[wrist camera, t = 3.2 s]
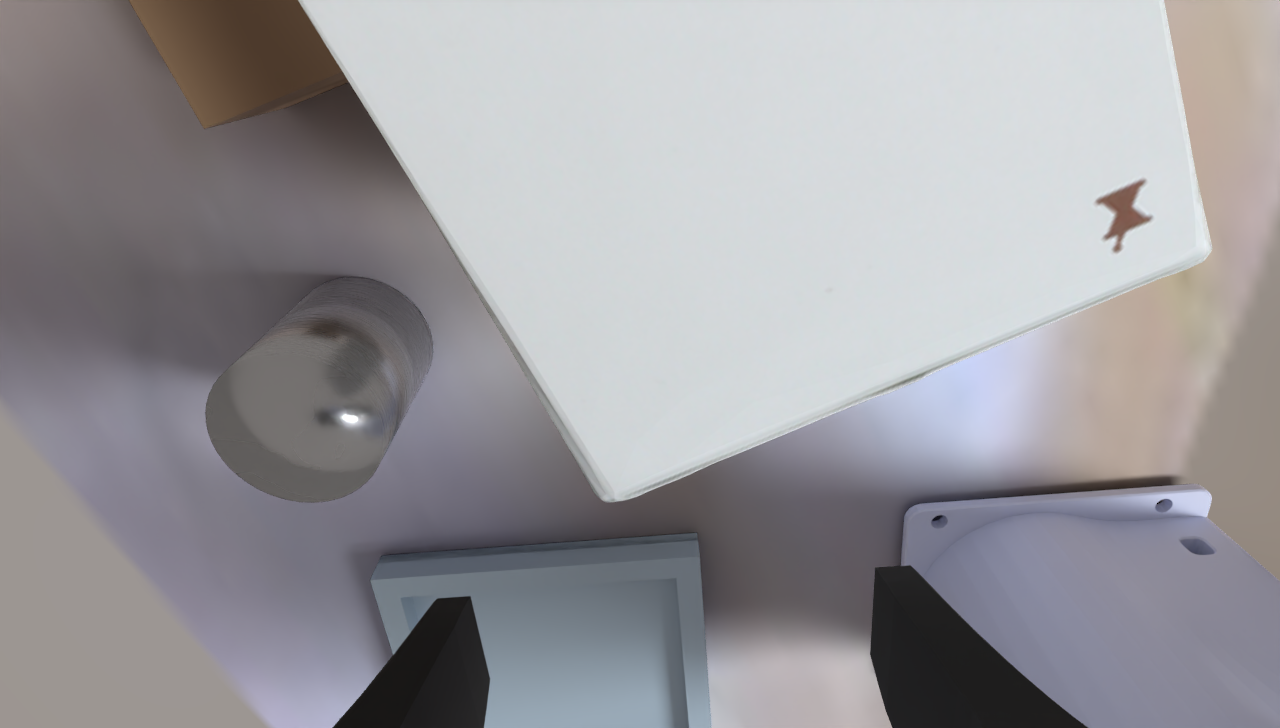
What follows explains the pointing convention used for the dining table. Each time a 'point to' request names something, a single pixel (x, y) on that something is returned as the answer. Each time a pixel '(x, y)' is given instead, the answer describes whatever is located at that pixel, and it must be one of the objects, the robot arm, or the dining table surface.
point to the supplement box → (774, 193)
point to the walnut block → (240, 54)
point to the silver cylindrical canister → (322, 391)
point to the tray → (571, 627)
